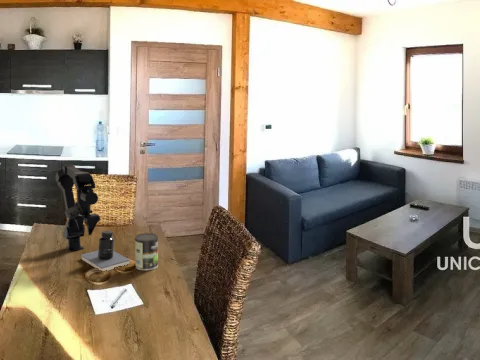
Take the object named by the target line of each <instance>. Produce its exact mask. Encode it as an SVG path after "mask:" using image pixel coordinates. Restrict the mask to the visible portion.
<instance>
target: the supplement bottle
mask: <svg viewBox="0 0 480 360" xmlns="http://www.w3.org/2000/svg"><path fill="white" fill-rule="evenodd" d="M113 233H114V232H113V231H112V230H103V231H101V237H100V238H99V239H98V249H97V251H98V257H99V258H101V259H111V258H112V257H113V253H114V251H115V249H114V248H115V238H114V236H113Z"/></svg>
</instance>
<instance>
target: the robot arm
mask: <svg viewBox="0 0 480 360" xmlns="http://www.w3.org/2000/svg"><path fill="white" fill-rule="evenodd" d="M55 182H56V183H57V187H58V188H59V189H60V190H61V191H62V195H63V201H64V206H65V210H64V211H63V212H64V214H65V217H66V219H67V220H66V222H65V228H64V230H63V232H62V233H63V238H65V240H67V245H68V246H65V249H66V250H68V251H69V252H75V251H79V250H83V249H84V246H82V245H81V238H82V237H85V232H86V231H85V230H87V233H88V236H91V235H92V234H93V232H94V231H95V227H96V226H97V224H98V223H99V222H101V216H100V215H99V214H97V213H94V211H93V209H92V207H91V206H93V205H95V204H96V203H97V202H98V200H99V196H98V194H97V193H96V192H94V189H96V182H95V180H94V178H93V176H92V174H91V173H90V172H88V171H81V170H80V169H78V168H77V167H76V166H75V165H74V164H64V166H62V167H61V168H60V169H59V170H58V171H57V172H56V174H55ZM74 187H75V189H76V201H75V196H74V191H73V189H74ZM84 224H85V225H86V227H87V229H86V227H85V225H84Z"/></svg>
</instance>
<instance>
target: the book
mask: <svg viewBox="0 0 480 360" xmlns="http://www.w3.org/2000/svg"><path fill="white" fill-rule="evenodd" d="M80 257H81V260H82V261H84V262H85V263H87V264H89V265H90V266H92V267H94V268H95V269H96V268H99V269H102V270H107V271H106V272H108V271H111V270H114V267H118V266H122V267H125V266H128V265H130V261H131V259H130V258H128V257H126V256H124V255H122V254H120V253H118V252H116V251H115V250H114V253H113V257H112V258H111V259H101V258H99V257H98V250H95V251H91V252H87V253H83V254H80ZM127 264H128V265H127ZM124 265H125V266H124ZM118 268H119V267H118Z"/></svg>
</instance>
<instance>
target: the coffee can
mask: <svg viewBox="0 0 480 360" xmlns="http://www.w3.org/2000/svg"><path fill="white" fill-rule="evenodd" d="M134 243H135V245H134V246H135V247H134V248H135V249H134V251H135V253H134V256H135V258H134V259H135V266H136V267H135V269H137V270H139V271H151V270H155V269H157V268H158V267H159V236H158V235H157V234H155V233H140V234H137V235H135V236H134Z"/></svg>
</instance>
